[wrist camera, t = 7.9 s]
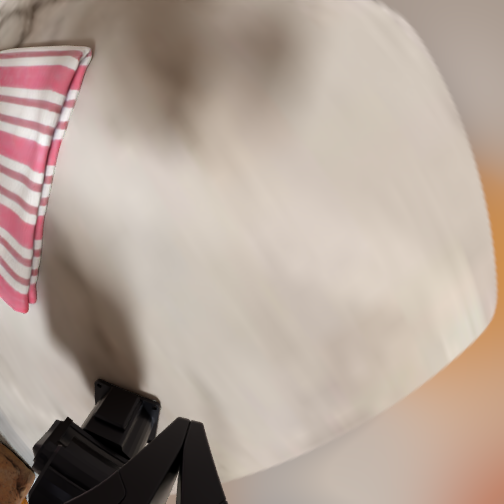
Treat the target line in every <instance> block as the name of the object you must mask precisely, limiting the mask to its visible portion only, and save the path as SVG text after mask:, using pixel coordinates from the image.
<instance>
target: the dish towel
mask: <svg viewBox="0 0 504 504" xmlns="http://www.w3.org/2000/svg"><path fill="white" fill-rule="evenodd" d="M91 58H92V51H91V48H89V47H86V46H69V45H63V46H42V47H24V48H13V49H8V50H2V51H0V298H1V299H3V300H4V302H5V303H6V304H8V305H9V306H10V307H11V308H12V309H13V310H14V311H17V312H21V313H23V314H25V313H27V312H28V310H29V303H30V304H35V303H36V300H37V297H36V287H35V284H36V281H37V277H38V268H39V264H40V259H41V248H42V240H43V237H42V235H43V223H44V216H45V213H46V209H47V203H48V198H49V195H50V191H51V186H52V179H53V175H54V172H55V167H56V160H57V156H58V151H59V148H60V144H61V141H62V139H63V137H64V135H65V132H66V129H67V125H68V122H69V120H70V117H71V115H72V112H73V109H74V105H75V102H76V99H77V97H78V94H79V92H80V87H81V84H82V80H83V77H84V74H85V71H86V68H87V66H88V64H89V62H90V61H91Z"/></svg>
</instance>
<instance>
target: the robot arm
mask: <svg viewBox="0 0 504 504" xmlns="http://www.w3.org/2000/svg"><path fill="white" fill-rule="evenodd" d="M154 406H155V407H154ZM160 410H161V405H160V404H159V403H158V402H155V401H152V400H150V399H147V398H144V397H142V396H139V395H137V394H134V393H131V392H129V391H127V390H124V389H122V388H119V387H117V386H115V385H112V384H110V383H108V382H106V381H103V380H101V379H97V380H96V382H95V407H94V408H93V410H92V411H91V413H90V414H89V416H88V417H87V419H86V420H85V422H84V423H83V425H82V426H81V428H80V427H79V426H78V425H76V424H75V423H74V422H73V420H71V419H70V418H69V417H67V418H66V420H65V421H59V420H56V421H55V422H54V424H53V425H52V426H51V428H50V429H49V430H48V431H47V432H46V434H45V435H44V436H43V437H42V438H41V439H40V440H39V441H38V442H37V443H36V444H35V445H34V447H33V453H34V456H35V458H34V460H33V461H34V464H33V466H32V470H33V471H35V472H36V473H38V474H39V476H38V478H37V479H36V481H35V483H34V484H33V486H32V488H31V489H30V491H29V493H28V497H29V500H28V502H29V504H166V501H167V499H168V497H169V494H170V492H171V490H172V487H173V485H174V482H175V480H176V478H177V475H178V484H177V497H176V504H228V503H227V501H226V497H225V495H224V491H223V488H222V485H221V482H220V479H219V476H218V473H217V470H216V467H215V463H214V460H213V457H212V454H211V450H210V447H209V443H208V440H207V436H206V433H205V429H204V425H203V423H201V422H197V421H193V420H192V421H190V420H189V419H186V418H182V417H178V418H177V419H175V420H174V421H173V422H172V423H171V424H170V425H169V426H168V427H167V428H166V429H165V430H163V431H162V432H161V433H160V434H159V435H158V436H157V437H156V434H157V427H158V421H159V415H160ZM146 443H149V444H148V445H147V446H145V445H146ZM178 472H179V474H178Z"/></svg>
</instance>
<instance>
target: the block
mask: <svg viewBox="0 0 504 504" xmlns="http://www.w3.org/2000/svg"><path fill="white" fill-rule="evenodd" d="M34 480H35V474H34V473H33V472H32V471H31V470H30V469H29V468H27V467H26V465H25V464H24V463H23V462H22V461H21V460H20V459H19V458H18V457H17V456H16V455H15V454H14V453H13V452H12V451H11V450H9V449H8V448H7V447H6V446H5V445H3V444H2V443H0V504H21V502H22V501H23V500H24V498H25V497H26V495H27V493H28V492H29V490H30V488H31V486H32V484H33V482H34Z"/></svg>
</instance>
